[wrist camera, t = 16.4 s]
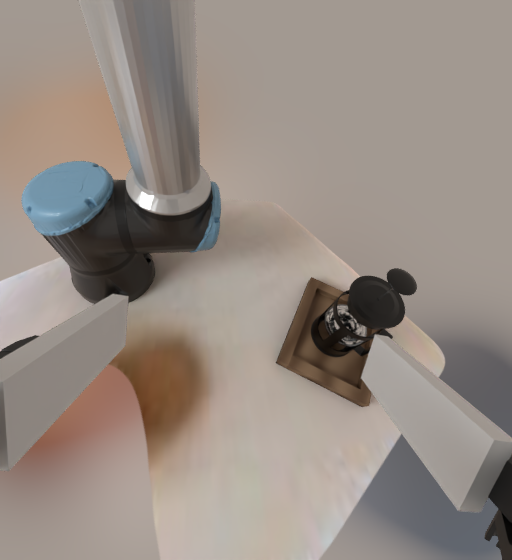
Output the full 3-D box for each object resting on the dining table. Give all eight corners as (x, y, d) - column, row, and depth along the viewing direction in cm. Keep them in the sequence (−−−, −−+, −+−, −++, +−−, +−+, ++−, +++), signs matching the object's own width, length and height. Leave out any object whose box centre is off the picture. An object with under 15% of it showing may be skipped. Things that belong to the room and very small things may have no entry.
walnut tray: (275, 362, 48) (278, 359, 46) (307, 282, 59) (311, 277, 57) (361, 406, 47) (369, 405, 45) (378, 315, 58) (384, 311, 56)
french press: (299, 330, 52) (353, 271, 32) (325, 304, 56) (386, 238, 37) (343, 374, 49) (432, 337, 29) (367, 342, 53) (459, 292, 33)
